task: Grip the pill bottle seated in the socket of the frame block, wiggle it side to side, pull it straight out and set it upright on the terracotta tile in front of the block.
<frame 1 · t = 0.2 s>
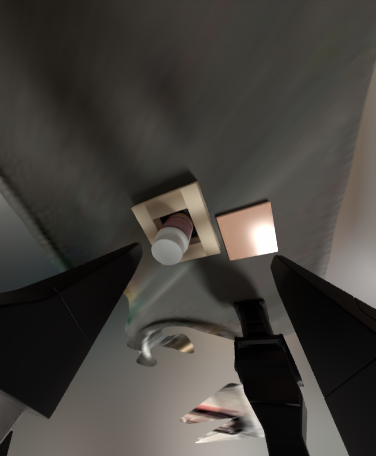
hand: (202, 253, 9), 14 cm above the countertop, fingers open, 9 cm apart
pill bottle: (180, 224, 24), resting in frame block
frame block: (180, 224, 24), on the countertop
terracotta tile: (246, 233, 23), on the countertop
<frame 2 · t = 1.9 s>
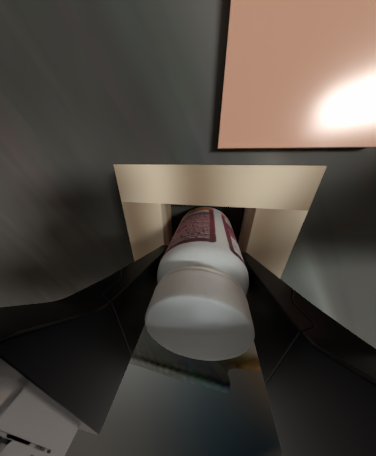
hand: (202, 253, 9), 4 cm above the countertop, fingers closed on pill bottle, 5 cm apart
pill bottle: (204, 229, 12), resting in frame block, touching gripper
frame block: (204, 230, 12), on the countertop
terracotta tile: (312, 60, 7), on the countertop
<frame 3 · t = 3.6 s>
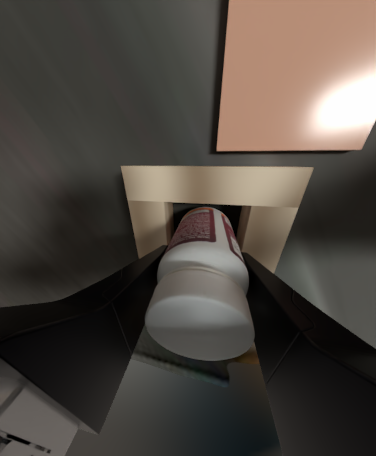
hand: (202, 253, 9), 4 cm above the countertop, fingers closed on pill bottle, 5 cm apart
pill bottle: (204, 229, 12), point 1 cm above the countertop, touching gripper
frame block: (204, 227, 13), on the countertop
terracotta tile: (300, 72, 8), on the countertop
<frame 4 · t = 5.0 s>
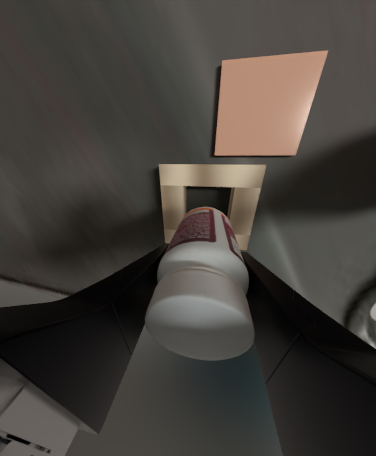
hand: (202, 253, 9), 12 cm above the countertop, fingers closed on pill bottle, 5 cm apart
pill bottle: (204, 229, 12), point 8 cm above the countertop, touching gripper
frame block: (207, 205, 20), on the countertop
terracotta tile: (260, 113, 14), on the countertop
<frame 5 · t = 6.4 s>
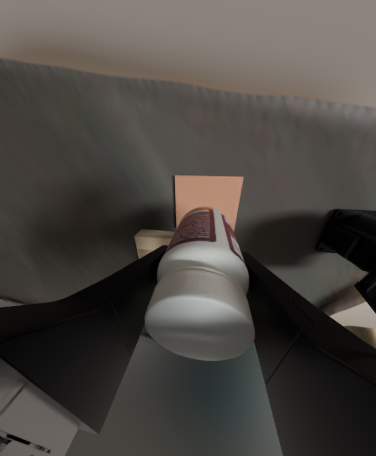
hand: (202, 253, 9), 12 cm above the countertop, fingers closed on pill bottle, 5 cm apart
pill bottle: (204, 229, 12), point 8 cm above the countertop, touching gripper
frame block: (175, 257, 25), on the countertop
terracotta tile: (206, 204, 20), on the countertop
when the fingers open (5 cm above the countertop, at t = 7.9 s): pill bottle drops 1 cm, resting on terracotta tile.
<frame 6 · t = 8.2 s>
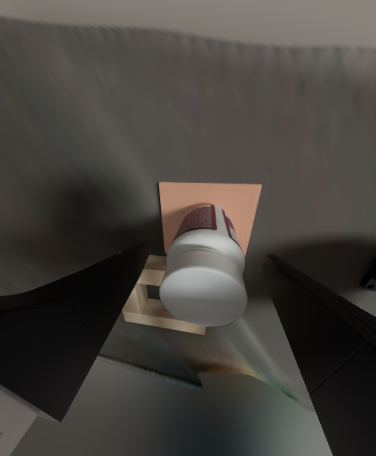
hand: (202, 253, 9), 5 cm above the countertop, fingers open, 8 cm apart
pill bottle: (206, 224, 14), resting on terracotta tile
frame block: (166, 286, 19), on the countertop
terracotta tile: (205, 222, 14), on the countertop
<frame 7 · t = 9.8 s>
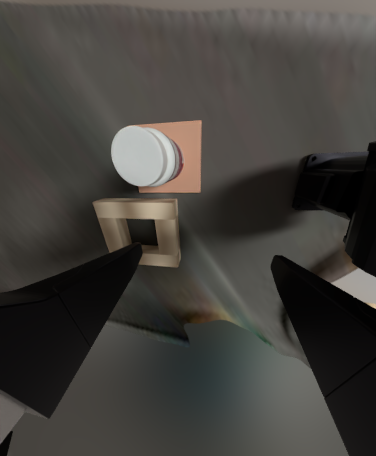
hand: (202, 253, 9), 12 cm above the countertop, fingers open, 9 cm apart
pill bottle: (167, 161, 17), resting on terracotta tile
frame block: (145, 230, 23), on the countertop
terracotta tile: (167, 161, 18), on the countertop
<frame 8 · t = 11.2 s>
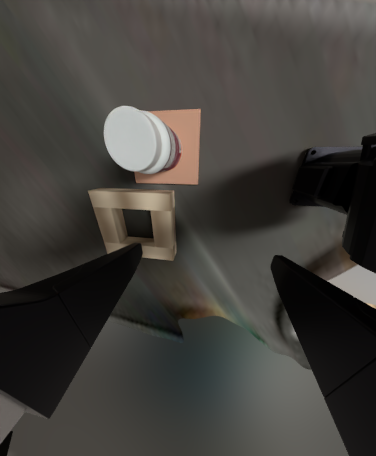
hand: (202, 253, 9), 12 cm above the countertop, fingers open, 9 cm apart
pill bottle: (165, 151, 17), resting on terracotta tile
frame block: (141, 222, 23), on the countertop
terracotta tile: (165, 151, 18), on the countertop
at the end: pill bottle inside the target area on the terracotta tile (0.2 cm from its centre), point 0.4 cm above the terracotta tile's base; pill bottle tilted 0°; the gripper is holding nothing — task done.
